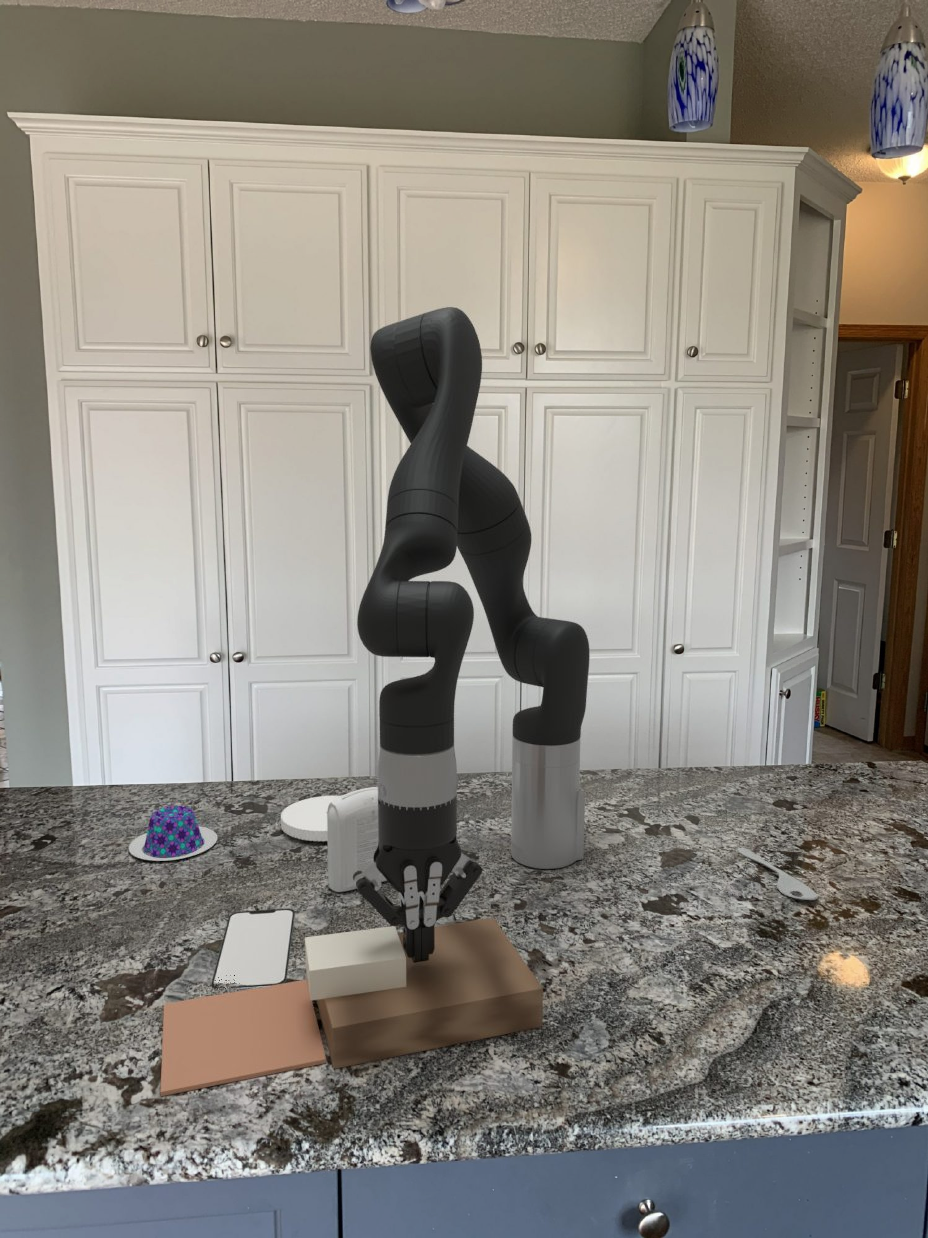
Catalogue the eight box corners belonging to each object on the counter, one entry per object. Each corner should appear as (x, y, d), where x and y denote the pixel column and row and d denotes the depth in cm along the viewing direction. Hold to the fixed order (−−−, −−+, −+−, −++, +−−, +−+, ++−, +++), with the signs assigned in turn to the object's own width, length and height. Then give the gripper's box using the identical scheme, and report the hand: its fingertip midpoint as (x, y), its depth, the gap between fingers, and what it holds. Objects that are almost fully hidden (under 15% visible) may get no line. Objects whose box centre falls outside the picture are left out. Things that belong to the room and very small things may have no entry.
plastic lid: (362, 806, 139) (362, 791, 138) (386, 839, 126) (386, 823, 125) (274, 817, 134) (274, 802, 133) (289, 854, 121) (289, 837, 121)
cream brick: (395, 953, 88) (395, 926, 87) (406, 987, 82) (406, 957, 82) (305, 965, 86) (304, 937, 85) (310, 1000, 80) (309, 971, 79)
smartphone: (286, 989, 89) (296, 911, 105) (286, 984, 89) (295, 908, 105) (208, 995, 88) (229, 915, 104) (208, 990, 88) (229, 911, 104)
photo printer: (393, 864, 117) (392, 777, 115) (409, 877, 114) (408, 787, 112) (323, 884, 111) (320, 792, 109) (337, 897, 108) (335, 803, 106)
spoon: (797, 911, 105) (798, 899, 105) (716, 842, 125) (716, 832, 125) (827, 908, 106) (828, 896, 106) (742, 840, 126) (743, 830, 126)
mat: (306, 983, 90) (306, 979, 90) (326, 1063, 77) (326, 1059, 77) (164, 1007, 85) (164, 1004, 85) (160, 1096, 73) (160, 1092, 73)
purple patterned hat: (109, 857, 120) (107, 821, 119) (168, 825, 131) (166, 792, 130) (180, 872, 115) (178, 834, 115) (234, 837, 126) (233, 803, 126)
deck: (493, 951, 96) (493, 917, 95) (542, 1026, 83) (543, 988, 82) (311, 982, 90) (310, 946, 89) (333, 1069, 77) (332, 1028, 76)
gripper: (470, 770, 88) (470, 928, 90) (341, 784, 84) (345, 949, 86) (496, 795, 81) (494, 966, 83) (356, 812, 77) (359, 991, 79)
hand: (418, 957), depth 85 cm, fingers closed
